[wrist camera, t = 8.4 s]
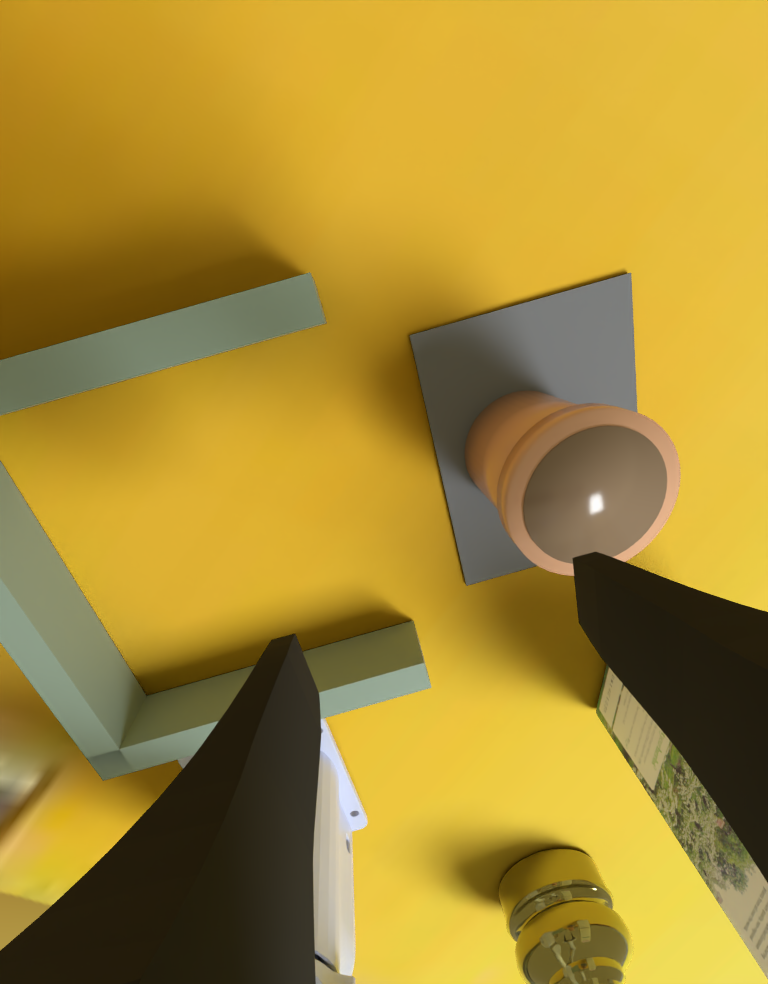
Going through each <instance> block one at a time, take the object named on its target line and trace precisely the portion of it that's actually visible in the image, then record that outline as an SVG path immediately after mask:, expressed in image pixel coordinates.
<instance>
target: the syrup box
mask: <svg viewBox="0 0 768 984" xmlns="http://www.w3.org/2000/svg"><path fill="white" fill-rule="evenodd" d="M596 713H597V715H598V717H599V719H600V720H601V722H602V723H603V725H604V726H605V728H606V730H607V731H608V733H609V734H610V736H611V737H612V739H613V740H614V742H615V743H616V745H617V746H618V748H619V750H620V751H621V753H622V754H623V756H624V758H625V759H626V760H627V762H628V764H629V765H630V767H631V768H632V770H633V771H634V773H635V774H636V776H637V777H638V779H639V780H640V782H641V783H642V785H643V787H644V788H645V790H646V791H647V793H648V794H649V796H650V797H651V799H652V801H653V802H654V804H655V805H656V807H657V808H658V810H659V812H660V813H661V815H662V816H663V818H664V819H665V821H666V822H667V824H668V826H669V827H670V829H671V830H672V832H673V833H674V835H675V837H676V838H677V840H678V841H679V843H680V844H681V846H682V848H683V849H684V851H685V852H686V854H687V855H688V857H689V858H690V860H691V862H692V863H693V864H694V866H695V867H696V869H697V871H698V872H699V874H700V875H701V877H702V878H703V880H704V881H705V883H706V884H707V886H708V888H709V889H710V891H711V892H712V894H713V895H714V897H715V898H716V900H717V902H718V903H719V905H720V906H721V908H722V909H723V911H724V912H725V914H726V915H727V917H728V918H729V920H730V922H731V923H732V925H733V926H734V928H735V929H736V931H737V932H738V934H739V935H740V937H741V938H742V940H743V941H744V943H745V944H746V946H747V948H748V949H749V951H750V952H751V954H752V956H753V957H754V959H755V960H756V962H757V963H758V965H759V966H760V968H761V969H762V971H763V972H764V974H765V975H766V977H767V979H768V883H767V881H766V880H765V878H764V876H763V875H762V873H761V872H760V870H759V869H758V867H757V865H756V864H755V862H754V861H753V859H752V858H751V856H750V855H749V853H748V852H747V850H746V849H745V847H744V846H743V844H742V843H741V841H740V840H739V838H738V837H737V835H736V834H735V832H734V831H733V829H732V828H731V826H730V825H729V823H728V822H727V820H726V819H725V817H724V816H723V814H722V813H721V811H720V810H719V808H718V807H717V805H716V804H715V802H714V801H713V799H712V798H711V797H710V795H709V794H708V792H707V791H706V789H705V788H704V786H703V785H702V784H701V782H700V781H699V779H698V778H697V776H696V775H695V774H694V772H693V771H692V769H691V768H690V766H689V765H688V764H687V762H686V761H685V759H684V758H683V757H682V755H681V754H680V753H679V751H678V750H677V749H676V748H675V746H674V745H673V744H672V742H671V741H670V740H669V739H668V737H667V736H666V735H665V734H664V732H663V731H662V730H661V729H660V728H659V726H658V725H657V724H656V723H655V722H654V721H653V719H652V718H651V717H650V716H649V715H648V713H647V712H646V711H645V710H644V709H643V707H642V706H641V705H640V704H639V703H638V701H637V700H636V699H635V698H634V697H633V695H632V694H631V693H630V692H629V691H628V690H627V688H626V687H625V686H624V685H623V684H622V682H621V681H620V680H619V679H618V677H617V676H616V675H615V674H614V673H613V671H612V670H611V669H610V668H609V667H608V665H607V666H606V670H605V674H604V678H603V683H602V687H601V691H600V696H599V700H598V704H597V710H596Z"/></svg>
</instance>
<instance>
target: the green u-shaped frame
mask: <svg viewBox="0 0 768 984" xmlns="http://www.w3.org/2000/svg"><path fill="white" fill-rule="evenodd" d="M326 323H327V322H326V319H325V315H324V312H323V309H322V305H321V302H320V298H319V295H318V291H317V288H316V284H315V281H314V279H313V277H312V275H311V273H306V274H303V275H299V276H296V277H292V278H289V279H285V280H282V281H278V282H275V283H271V284H268V285H264V286H261V287H257V288H254V289H250V290H246V291H243V292H239V293H236V294H232V295H229V296H225V297H222V298H218V299H215V300H211V301H208V302H204V303H201V304H197V305H193V306H190V307H186V308H183V309H179V310H176V311H172V312H169V313H165V314H162V315H158V316H155V317H151V318H148V319H144V320H140V321H137V322H133V323H130V324H126V325H123V326H119V327H116V328H112V329H109V330H105V331H102V332H98V333H95V334H91V335H88V336H84V337H80V338H77V339H73V340H70V341H66V342H63V343H59V344H56V345H52V346H49V347H45V348H42V349H38V350H35V351H31V352H27V353H24V354H20V355H17V356H13V357H10V358H6V359H3V360H0V416H1V415H4V414H8V413H11V412H15V411H18V410H22V409H26V408H29V407H33V406H36V405H40V404H43V403H47V402H50V401H54V400H57V399H61V398H64V397H68V396H71V395H75V394H79V393H82V392H86V391H89V390H93V389H96V388H100V387H103V386H107V385H110V384H114V383H117V382H121V381H124V380H128V379H131V378H135V377H139V376H142V375H146V374H149V373H153V372H156V371H160V370H163V369H167V368H170V367H174V366H177V365H181V364H184V363H188V362H192V361H195V360H199V359H202V358H206V357H209V356H213V355H216V354H220V353H223V352H227V351H230V350H234V349H237V348H241V347H244V346H248V345H252V344H255V343H259V342H262V341H266V340H269V339H273V338H276V337H280V336H283V335H287V334H290V333H294V332H297V331H301V330H305V329H308V328H312V327H315V326H319V325H322V324H326ZM0 643H1V644H2V645H3V647H4V648H5V649H6V651H7V652H8V653H9V655H10V656H11V657H12V659H13V660H14V661H15V663H16V664H17V665H18V667H19V668H20V669H21V671H22V672H23V674H24V675H25V676H26V678H27V679H28V680H29V682H30V683H31V684H32V686H33V687H34V688H35V690H36V691H37V692H38V694H39V695H40V696H41V698H42V699H43V700H44V702H45V703H46V704H47V706H48V707H49V708H50V710H51V711H52V713H53V714H54V715H55V717H56V718H57V719H58V721H59V722H60V723H61V725H62V726H63V727H64V729H65V730H66V731H67V733H68V734H69V735H70V737H71V738H72V739H73V741H74V742H75V743H76V745H77V746H78V747H79V749H80V750H81V752H82V753H83V754H84V756H85V757H86V758H87V760H88V761H89V762H90V764H91V765H92V766H93V768H94V769H95V770H96V772H97V773H98V774H99V776H100V777H101V778H102V780H103V781H104V780H107V779H111V778H114V777H118V776H121V775H125V774H128V773H132V772H136V771H139V770H143V769H146V768H150V767H153V766H157V765H160V764H164V763H167V762H171V761H174V760H178V759H181V758H185V757H188V756H192V755H195V753H196V752H197V751H198V749H199V748H200V747H201V745H202V744H203V743H204V741H205V740H206V738H207V737H208V736H209V734H210V733H211V731H212V730H213V729H214V727H215V726H216V724H217V723H218V722H219V720H220V719H221V717H222V716H223V715H224V713H225V712H226V710H227V709H228V708H229V706H230V705H231V703H232V701H233V700H234V698H235V697H236V695H237V694H238V692H239V691H240V689H241V688H242V686H243V685H244V683H245V681H246V680H247V678H248V677H249V675H250V673H251V672H252V670H253V669H254V667H255V665H254V666H251V667H247V668H244V669H240V670H236V671H233V672H229V673H226V674H222V675H219V676H215V677H212V678H208V679H205V680H201V681H198V682H194V683H191V684H187V685H184V686H180V687H176V688H173V689H169V690H166V691H162V692H159V693H155V694H152V695H148V696H146V694H145V693H144V691H143V689H142V688H141V686H140V685H139V683H138V681H137V680H136V678H135V677H134V675H133V673H132V672H131V670H130V669H129V667H128V665H127V664H126V662H125V660H124V659H123V657H122V656H121V654H120V652H119V651H118V649H117V648H116V646H115V644H114V643H113V641H112V640H111V638H110V636H109V635H108V633H107V632H106V630H105V628H104V627H103V625H102V623H101V622H100V620H99V619H98V617H97V615H96V614H95V612H94V611H93V609H92V607H91V606H90V604H89V603H88V601H87V599H86V598H85V596H84V595H83V593H82V591H81V590H80V588H79V586H78V585H77V583H76V582H75V580H74V578H73V577H72V575H71V574H70V572H69V570H68V569H67V567H66V566H65V564H64V562H63V561H62V559H61V558H60V556H59V554H58V553H57V551H56V549H55V548H54V546H53V545H52V543H51V541H50V540H49V538H48V537H47V535H46V533H45V532H44V530H43V529H42V527H41V525H40V524H39V522H38V521H37V519H36V517H35V516H34V514H33V512H32V511H31V509H30V508H29V506H28V504H27V503H26V501H25V500H24V498H23V496H22V495H21V493H20V492H19V490H18V488H17V487H16V485H15V484H14V482H13V480H12V479H11V477H10V475H9V474H8V472H7V471H6V469H5V467H4V466H3V464H2V463H1V461H0ZM303 654H304V657H305V659H306V662H307V664H308V667H309V669H310V672H311V674H312V677H313V679H314V682H315V684H316V687H317V689H318V692H319V697H320V714H321V719H323V718H326V717H330V716H333V715H337V714H340V713H344V712H347V711H351V710H354V709H358V708H361V707H365V706H368V705H372V704H375V703H379V702H383V701H386V700H390V699H393V698H397V697H400V696H404V695H407V694H411V693H414V692H418V691H421V690H425V689H428V688H431V684H430V680H429V676H428V673H427V669H426V665H425V661H424V657H423V653H422V650H421V646H420V642H419V639H418V635H417V632H416V628H415V625H414V621H409V622H406V623H402V624H399V625H395V626H392V627H388V628H385V629H381V630H378V631H374V632H371V633H367V634H364V635H360V636H356V637H353V638H349V639H346V640H342V641H339V642H335V643H332V644H328V645H325V646H321V647H318V648H314V649H311V650H307V651H304V652H303Z"/></svg>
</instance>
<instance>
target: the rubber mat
mask: <svg viewBox="0 0 768 984" xmlns="http://www.w3.org/2000/svg"><path fill="white" fill-rule="evenodd" d="M409 336H410V340H411V345H412V349H413V353H414V358H415V362H416V367H417V371H418V376H419V380H420V384H421V389H422V393H423V398H424V402H425V406H426V411H427V415H428V420H429V424H430V429H431V433H432V437H433V442H434V446H435V451H436V455H437V459H438V464H439V468H440V473H441V477H442V481H443V486H444V490H445V495H446V499H447V504H448V508H449V512H450V517H451V521H452V526H453V530H454V534H455V539H456V543H457V548H458V552H459V556H460V561H461V565H462V570H463V574H464V579H465V583H466V586H468V585H471V584H475V583H478V582H482V581H485V580H489V579H492V578H496V577H499V576H503V575H506V574H510V573H513V572H517V571H521V570H524V569H528V568H531V567H535V566H537V565H536V564H534V563H533V562H532V561H530V560H529V559H528V558H527V557H526V556H525V555H524V554H523V553H522V551H521V550H520V549H519V548H518V547H517V545H516V544H515V543H514V542H513V541H512V539H511V538H510V537H509V536H508V534H507V532H506V531H505V529H504V528H503V525H502V523H501V520H500V517H499V513H498V510H497V509H496V508H495V506H494V505H493V504H492V503H491V502H490V501H489V500H488V498H487V497H486V496H485V495H484V494H483V493H482V491H481V490H480V489H479V488H478V487H477V486H476V485H475V483H474V482H473V481H472V479H471V477H470V475H469V473H468V471H467V467H466V464H465V444H466V439H467V436H468V433H469V430H470V428H471V426H472V424H473V423H474V421H475V419H476V418H477V417H478V415H479V414H480V413H481V412H482V411H483V410H484V409H485V408H486V407H487V406H488V405H489V404H491V403H492V402H493V401H495V400H496V399H498V398H500V397H502V396H504V395H507V394H510V393H513V392H518V391H537V392H542V393H545V394H548V395H551V396H554V397H557V398H560V399H563V400H566V401H569V402H572V403H575V404H585V403H602V404H608V405H613V406H617V407H620V408H624V409H627V410H631V411H634V412H637V395H636V372H635V350H634V327H633V305H632V282H631V273H628V274H624V275H620V276H617V277H613V278H610V279H606V280H603V281H599V282H596V283H592V284H589V285H585V286H582V287H578V288H575V289H571V290H567V291H564V292H560V293H557V294H553V295H550V296H546V297H543V298H539V299H536V300H532V301H529V302H525V303H522V304H518V305H515V306H511V307H507V308H504V309H500V310H497V311H493V312H490V313H486V314H483V315H479V316H476V317H472V318H469V319H465V320H462V321H458V322H455V323H451V324H447V325H444V326H440V327H437V328H433V329H430V330H426V331H423V332H419V333H416V334H412V335H409Z"/></svg>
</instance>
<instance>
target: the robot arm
mask: <svg viewBox="0 0 768 984" xmlns="http://www.w3.org/2000/svg"><path fill="white" fill-rule="evenodd" d="M572 559H573V569H574V579H575V589H576V599H577V608H578V618H579V624H580V625H581V627H582V628H583V630H584V632H585V633H586V635H587V637H588V638H589V640H590V641H591V643H592V644H593V646H594V647H595V649H596V650H597V652H598V653H599V655H600V656H601V658H602V659H603V660H604V662H605V663H606V664H607V665H608V667H609V668H610V669H611V670H612V671H613V673H614V674H615V675H616V676H617V677H618V679H619V680H620V681H621V682H622V684H623V685H624V686H625V687H626V688H627V690H628V691H629V692H630V693H631V694H632V695H633V697H634V698H635V699H636V700H637V701H638V703H639V704H640V705H641V706H642V707H643V709H644V710H645V711H646V712H647V713H648V715H649V716H650V717H651V718H652V719H653V721H654V722H655V723H656V724H657V725H658V726H659V728H660V729H661V730H662V731H663V732H664V734H665V735H666V736H667V737H668V739H669V740H670V741H671V742H672V744H673V745H674V746H675V748H676V749H677V750H678V751H679V753H680V754H681V755H682V757H683V758H684V759H685V761H686V762H687V764H688V765H689V766H690V768H691V769H692V771H693V772H694V774H695V775H696V776H697V778H698V779H699V781H700V782H701V784H702V785H703V786H704V788H705V789H706V791H707V792H708V794H709V795H710V797H711V798H712V799H713V801H714V802H715V804H716V805H717V807H718V808H719V810H720V811H721V813H722V814H723V816H724V817H725V819H726V820H727V822H728V823H729V825H730V826H731V828H732V829H733V831H734V832H735V834H736V835H737V837H738V838H739V840H740V841H741V843H742V844H743V846H744V847H745V849H746V850H747V852H748V853H749V855H750V856H751V858H752V859H753V861H754V862H755V864H756V865H757V867H758V869H759V870H760V872H761V873H762V875H763V876H764V878H765V880H766V881H767V883H768V612H765V611H762V610H758V609H755V608H751V607H748V606H745V605H741V604H738V603H735V602H732V601H729V600H726V599H723V598H720V597H717V596H714V595H711V594H708V593H705V592H702V591H699V590H696V589H693V588H691V587H688V586H685V585H682V584H680V583H677V582H674V581H672V580H669V579H666V578H664V577H661V576H659V575H656V574H654V573H651V572H648V571H646V570H643V569H641V568H638V567H636V566H633V565H631V564H628V563H626V562H623V561H621V560H618V559H616V558H613V557H610V556H608V555H605V554H602V553H599V552H592V553H588V554H585V555H581V556H577V557H574V558H572ZM178 762H179V764H180V765H181V767H182V769H183V770H182V771H181V772H180V773H179V774H178V776H177V777H176V778H175V779H174V780H173V782H172V783H171V784H170V785H169V786H168V788H167V789H166V790H165V791H164V792H163V793H162V795H161V796H160V797H159V798H158V799H157V800H156V801H155V803H154V804H153V805H152V806H151V807H150V808H149V809H148V810H147V811H146V812H145V813H144V814H143V815H142V816H141V818H140V819H139V820H138V821H137V822H136V823H135V824H134V825H133V826H132V827H131V828H130V829H129V830H128V832H127V833H126V834H125V835H124V836H123V837H122V838H121V839H120V840H119V841H118V842H117V843H116V844H115V845H114V846H113V847H112V848H111V849H110V850H109V851H108V852H107V853H106V854H105V855H104V856H103V857H102V858H101V859H100V860H99V861H98V862H97V863H96V864H95V865H94V866H93V867H92V868H91V869H90V870H89V871H88V872H87V873H86V874H85V875H84V876H83V877H82V878H81V879H80V880H79V881H78V882H77V883H75V884H74V885H73V886H72V887H71V888H70V889H69V890H68V891H67V892H66V893H65V894H64V895H63V896H62V897H61V898H60V899H59V900H57V901H56V902H55V903H54V904H53V905H52V906H51V907H50V908H49V909H48V910H46V911H45V912H44V913H43V914H42V915H41V916H40V917H39V918H38V919H36V920H35V921H34V922H33V923H32V924H31V925H29V926H28V927H27V928H26V929H25V930H24V931H23V932H21V933H20V935H18V936H17V937H16V938H15V939H13V940H12V941H11V942H10V943H9V944H8V945H6V946H5V947H4V948H3V949H2V950H1V951H0V984H355V978H354V977H353V976H352V973H353V968H354V961H355V916H354V882H353V849H352V831H355V830H359V829H362V828H364V827H365V826H366V825H367V815H366V813H365V810H364V808H363V806H362V803H361V801H360V799H359V796H358V794H357V792H356V789H355V787H354V785H353V782H352V780H351V778H350V775H349V773H348V771H347V768H346V766H345V764H344V761H343V759H342V757H341V754H340V752H339V750H338V747H337V745H336V743H335V740H334V738H333V736H332V733H331V731H330V729H329V726H328V724H327V722H326V719H325V718H323V719H321V714H320V697H319V692H318V689H317V687H316V684H315V682H314V679H313V677H312V674H311V672H310V669H309V667H308V664H307V662H306V659H305V657H304V654H303V652H302V649H301V647H300V644H299V642H298V639H297V637H296V634H292V635H288V636H285V637H281V638H277V639H274V640H271V642H270V643H269V645H268V646H267V648H266V650H265V651H264V653H263V654H262V656H261V658H260V659H259V661H258V662H257V664H256V665H255V667H254V669H253V670H252V672H251V673H250V675H249V677H248V678H247V680H246V681H245V683H244V685H243V686H242V688H241V689H240V691H239V692H238V694H237V695H236V697H235V698H234V700H233V701H232V703H231V705H230V706H229V708H228V709H227V710H226V712H225V713H224V715H223V716H222V717H221V719H220V720H219V722H218V723H217V724H216V726H215V727H214V729H213V730H212V731H211V733H210V734H209V736H208V737H207V738H206V740H205V741H204V743H203V744H202V745H201V747H200V748H199V749H198V751H197V752H196V753H195V755H192V756H188V757H185V758H181V759H178Z"/></svg>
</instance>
